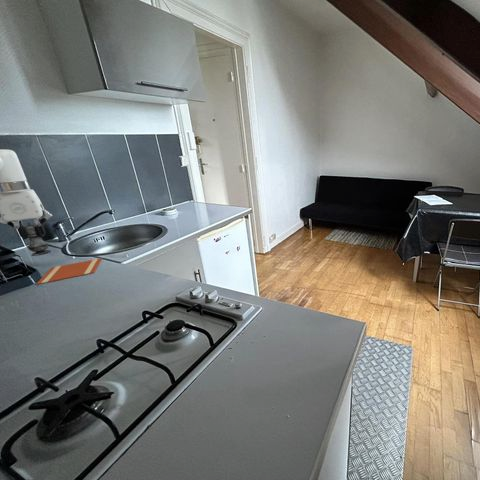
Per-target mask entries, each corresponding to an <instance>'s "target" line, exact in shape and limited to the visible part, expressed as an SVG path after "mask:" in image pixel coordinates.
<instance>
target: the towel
mask: <svg viewBox="0 0 480 480" xmlns="http://www.w3.org/2000/svg"><path fill="white" fill-rule="evenodd" d="M102 260H103V258H95V259H90V260H84V261H79V262H74V263H70V264H69V263H68V264H63V265H57V266H53V267H51V268H50V269H48V270H47V272H46V273H44V275H43V276H42V277H41V278H40V279H39V280H38V281H37V282H36V286H39V285H42V284H47V283H53V282H57V281H62V280H66V279H72V278H76V277H81V276H87V275H92V274H95V272H96V271H97V269H98V267H99V265H100V263H101V262H102Z"/></svg>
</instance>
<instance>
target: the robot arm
mask: <svg viewBox="0 0 480 480" xmlns="http://www.w3.org/2000/svg"><path fill="white" fill-rule="evenodd" d="M41 217H42V218H41ZM52 217H53V214H52V213H50V212H49V211H47V209H45V207H44V205H43V203H42V201H41V199H40V198H39V196H38V195H37V193H36V191H35V190H34V189H33V188H32V189H31V187H30V184H29V182H28V179H27V177H26V174H25V172H24V169H23V167H22V165H21V162H20V159H19V157H18V155H17V153H16V152H15V151H14V150H12V149H6V148H5V149H4V148H3V149H1V148H0V224H3V225H7V226H10V227H12V228H14V229H15V230H17V232H18V234H19V236H20V238H21V239H22V240H27V239H29V238H28V237H27V235H28V234H27V232H26V230H25V227H26V226H24V224H23V221H25V220H26V221H27V220H33V222H34V224H35V226H36V230H37V233H38V235H39V237H41V238H43V237H44V236H46V233H47V231H46V229H45V227H44V225H45V223H46V222H47V221H48V220H49V219H51V218H52Z"/></svg>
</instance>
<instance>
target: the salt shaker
mask: <svg viewBox="0 0 480 480" xmlns="http://www.w3.org/2000/svg"><path fill="white" fill-rule="evenodd" d="M24 227H25V230H26V232H27V234H28V235H27V237H28V238H27V239H28V240H29V244H28V245H26V246H25V247H26V248H27V249H28V250H29V251H30V252H33V253H32V254H30V255H31V257H39V256H44V255H47V254H49V253H50V254H51V252H52V251H51V250H50V249H48V248H49V241H44V240H43V239H42V237H39V235H38V233H37V230H36V227H37V226H36V225H34V224H31V223H30V222H28V223H27V225H26V226H24Z"/></svg>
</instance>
